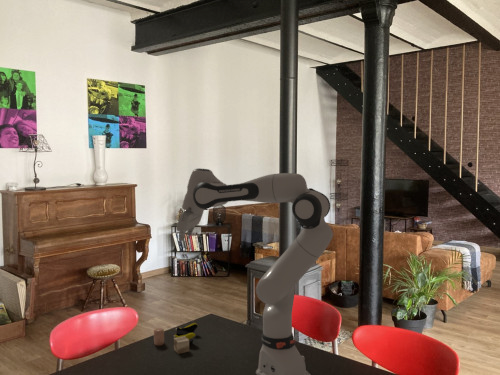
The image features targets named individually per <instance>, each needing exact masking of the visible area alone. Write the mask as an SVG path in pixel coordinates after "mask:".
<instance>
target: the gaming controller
mask: <svg viewBox="0 0 500 375" xmlns="http://www.w3.org/2000/svg"><path fill="white" fill-rule="evenodd" d="M198 327H199V325H198V323H196V322H193V323H191V324H189V325H187V326H185V327H183V328H181V327H176V328H175V334H174V335H173V339H174V338H178V337H183V336H185V337H186V338H187V339H189V343H191V342H192V341H194V340H195V338H196V337H197V336H196V333H195V332H196V331H197V329H198Z"/></svg>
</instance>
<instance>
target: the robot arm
mask: <svg viewBox="0 0 500 375" xmlns="http://www.w3.org/2000/svg"><path fill="white" fill-rule="evenodd" d="M186 189H187V191H186V193H185V195H184V199H183V202H182V206H181V209H182V210H184V211H182V212H181V213H180V216H179V218H178V222H177V225H176V231H178V232H179V238H178V240H179V241H182V242H183V241H184V240H185V237H186V236H185V234H186V235H187V236H190V237H191V236H192V235H193V231H194V230H195V227H196V226H198V225H199V224H200V223H201V220H202V217H203V215H204V211H205V210H208V209H210V208H216V207H220V206H224V205H226V204H228V203H230V202H238V201H243V202H244V201H246V202H256V203H266V204H277V203H278V204H279V203H292V206H291V209H292V210H291V211H292V214H293V216H294V218H295V220H296V221H297V222H298V223H299V225H300V227H301V228H302V229H301V232H299V234H298V235H297V236H296V238H294V240H293V241H292V242H291V244H290V245H288V247H287V249H286V250H285V251H284V252H283V253H282V254H281V255H280V256H279V258H277V260H276V261H274V262H273V264H272V265H271V266H270V267H269V269H267V270H266V272H265V273H264V274H263V275H262V276H261V278H260V279H259V281H257V284H256V287H255V293H256V296H257V298H258V299H259V300H260V301H261V302H262V303H264V308H263V312H262V332H261V343H262V346H261V348H260V351H259V356H258V367H257V369H256V370H255V374H256V375H311V373H310V372H309V371H308V370H306V368H307V367H306V362H305V360H306V359H305V356H304V355H301V353H300V352H299V350H298V349H297V346H296V345H295V343H297V342H296V339H295V337H294V334H293V328H292V327H293V325H292V324H293V318H292V317H293V315H292V314H293V307H294V300H295V293H296V285H297V283H299V281H300V280H301V279H302V277H304V276H305V275H306V273H307V272H308V271H309V270H310V269H311V268H312V266H314V264H315V263H316V262H317V260H319V258H320V257H321V256H322V255H323V254H324V252H325V250H326V249H327V248H328V246H329V245H330V243H331V241H332V239H333V237H334V232H333V229H332V228H331V226H330V225H329V224H328V223H327V222H326V221H325V218H326V217H327V216H328V214H329V213H330V211H331V202H330V199H329V198H328V197H327V195H326V194H323V193H322V192H320V191H318V190H315V189H314V188H312V187H311V188H308V185H307V180H306V178H304V175H302V174H300V173H293V172H292V173H289V172H283V173H282V172H281V173H271V174H266V175H263V176H260V177H256V178H253V179H251V180H248V181H247V180H246V181H245V182H240V183H235V184H226V183H224V182H223V181H221V180H220V179H219V178H217V177H216V175H215V174H214V173H213V171H212V170H211V169H207V168H194V169H193V170H192V172H191V174H190V177H189V179H188V183H187V186H186ZM186 232H187V233H186Z"/></svg>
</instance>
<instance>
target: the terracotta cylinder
mask: <svg viewBox="0 0 500 375" xmlns="http://www.w3.org/2000/svg"><path fill="white" fill-rule="evenodd" d="M164 344H165V329H164V328H159V327H158V328H154V329H153V345H154V346H158V347H159V346H163V345H164Z"/></svg>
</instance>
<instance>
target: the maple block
mask: <svg viewBox="0 0 500 375" xmlns="http://www.w3.org/2000/svg"><path fill="white" fill-rule="evenodd" d="M173 350H174V351H175V352H176V354H178V355H180V354H184V353H187V352H190V342H189V339H187V338H186V337H185V336H183V337H178V338H174V337H173Z"/></svg>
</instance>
